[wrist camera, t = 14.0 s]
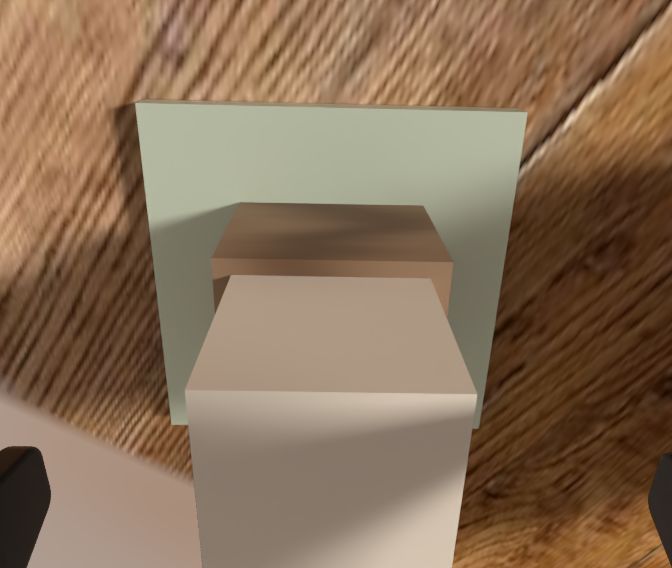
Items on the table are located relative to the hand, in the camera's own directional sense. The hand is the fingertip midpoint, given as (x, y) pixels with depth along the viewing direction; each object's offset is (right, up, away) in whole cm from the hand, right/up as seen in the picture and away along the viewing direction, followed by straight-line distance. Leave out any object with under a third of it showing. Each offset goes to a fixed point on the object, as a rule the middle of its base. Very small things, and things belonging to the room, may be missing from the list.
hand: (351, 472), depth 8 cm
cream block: (0, +1, +7) cm, 7 cm away
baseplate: (0, +3, +12) cm, 13 cm away
